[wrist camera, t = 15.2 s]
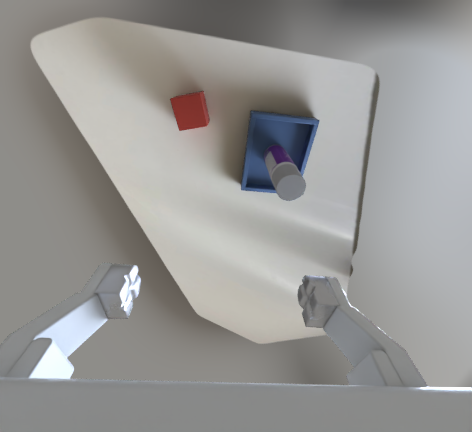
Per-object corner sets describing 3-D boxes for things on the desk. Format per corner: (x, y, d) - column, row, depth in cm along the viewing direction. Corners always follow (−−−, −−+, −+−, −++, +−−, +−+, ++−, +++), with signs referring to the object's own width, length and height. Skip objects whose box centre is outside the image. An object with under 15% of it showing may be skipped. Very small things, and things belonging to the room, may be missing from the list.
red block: (176, 95, 38) (169, 98, 34) (203, 90, 38) (199, 93, 34) (184, 124, 41) (179, 130, 37) (209, 120, 41) (207, 126, 36)
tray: (250, 110, 40) (251, 112, 37) (315, 118, 41) (319, 120, 38) (240, 184, 48) (241, 190, 46) (294, 189, 49) (296, 195, 47)
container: (289, 147, 43) (312, 178, 31) (280, 168, 46) (298, 204, 33) (268, 141, 42) (282, 170, 30) (260, 163, 45) (270, 197, 32)
